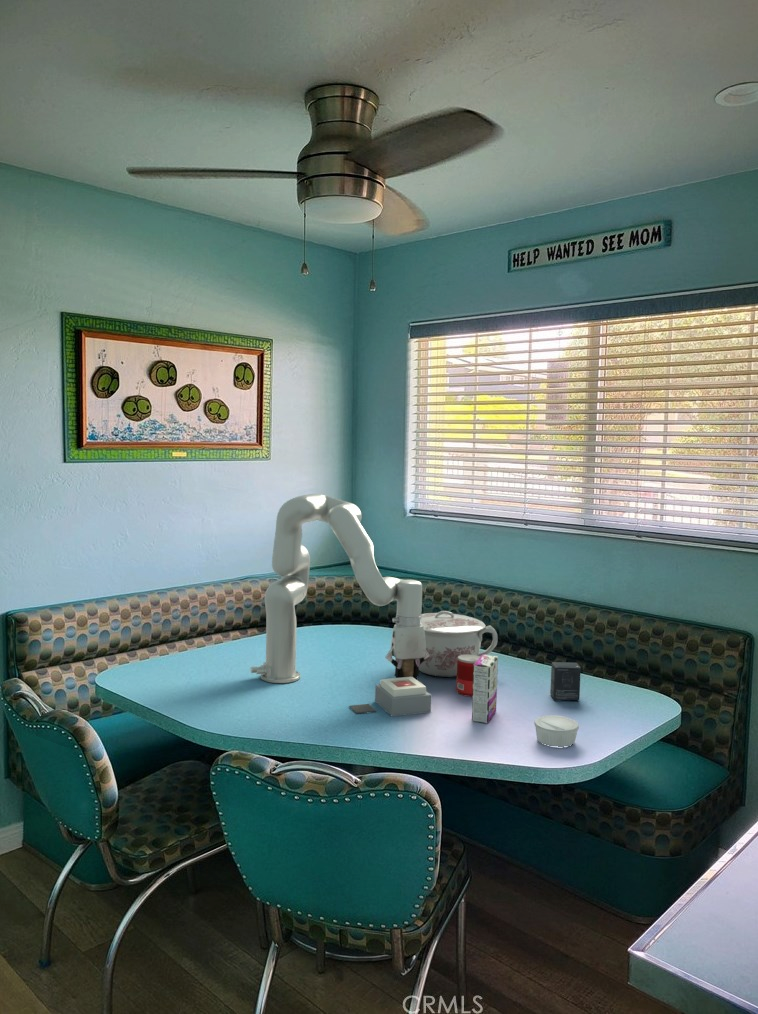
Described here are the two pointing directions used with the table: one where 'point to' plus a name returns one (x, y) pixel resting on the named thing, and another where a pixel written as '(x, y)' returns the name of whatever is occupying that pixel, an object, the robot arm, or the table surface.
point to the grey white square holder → (403, 697)
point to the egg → (402, 683)
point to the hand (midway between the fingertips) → (406, 679)
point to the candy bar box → (484, 688)
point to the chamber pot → (451, 641)
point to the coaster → (362, 708)
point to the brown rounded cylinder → (407, 667)
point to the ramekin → (556, 730)
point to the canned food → (465, 674)
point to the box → (565, 681)
